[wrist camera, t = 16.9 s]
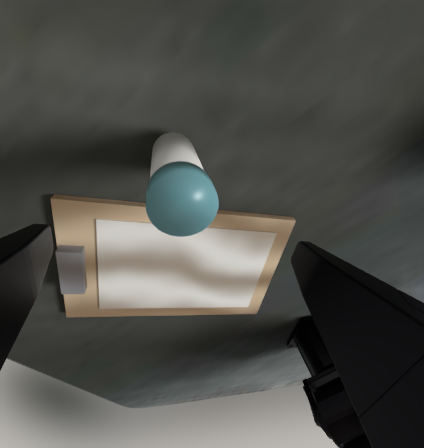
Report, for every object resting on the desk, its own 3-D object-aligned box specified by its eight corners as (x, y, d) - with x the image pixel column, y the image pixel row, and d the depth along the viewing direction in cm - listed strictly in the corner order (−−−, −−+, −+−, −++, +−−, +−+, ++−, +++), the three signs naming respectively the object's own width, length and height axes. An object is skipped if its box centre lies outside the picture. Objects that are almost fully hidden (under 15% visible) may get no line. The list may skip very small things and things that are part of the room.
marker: (190, 172, 21) (211, 238, 13) (149, 167, 20) (143, 234, 12) (197, 131, 20) (225, 177, 11) (153, 123, 19) (148, 166, 10)
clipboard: (254, 308, 32) (259, 320, 31) (69, 311, 27) (63, 325, 25) (292, 216, 26) (300, 226, 24) (54, 194, 20) (45, 204, 19)
